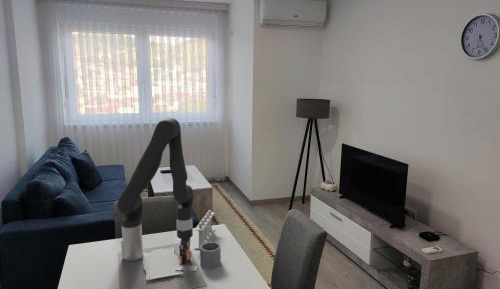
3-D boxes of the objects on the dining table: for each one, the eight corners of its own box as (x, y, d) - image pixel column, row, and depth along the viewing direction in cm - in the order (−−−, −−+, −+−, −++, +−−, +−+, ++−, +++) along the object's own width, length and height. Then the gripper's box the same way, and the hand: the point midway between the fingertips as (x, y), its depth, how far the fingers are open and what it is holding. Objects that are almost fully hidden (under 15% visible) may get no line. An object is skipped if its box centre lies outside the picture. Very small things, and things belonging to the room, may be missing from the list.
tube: (199, 268, 163) (199, 250, 161) (202, 258, 172) (202, 241, 170) (219, 269, 163) (218, 251, 161) (221, 259, 172) (221, 242, 170)
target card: (175, 270, 161) (175, 269, 161) (177, 266, 165) (177, 265, 165) (196, 271, 161) (196, 270, 161) (198, 266, 165) (198, 265, 164)
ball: (178, 263, 167) (177, 252, 166) (180, 257, 173) (180, 246, 172) (190, 264, 167) (190, 252, 166) (192, 257, 173) (192, 246, 171)
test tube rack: (203, 250, 181) (202, 226, 178) (194, 249, 182) (194, 225, 179) (215, 229, 205) (214, 208, 203) (208, 229, 206) (207, 208, 203)
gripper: (180, 220, 174) (181, 251, 177) (173, 233, 159) (174, 266, 163) (195, 220, 173) (196, 252, 176) (189, 233, 159) (190, 267, 162)
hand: (185, 258), depth 169 cm, fingers closed on ball, 6 cm apart
